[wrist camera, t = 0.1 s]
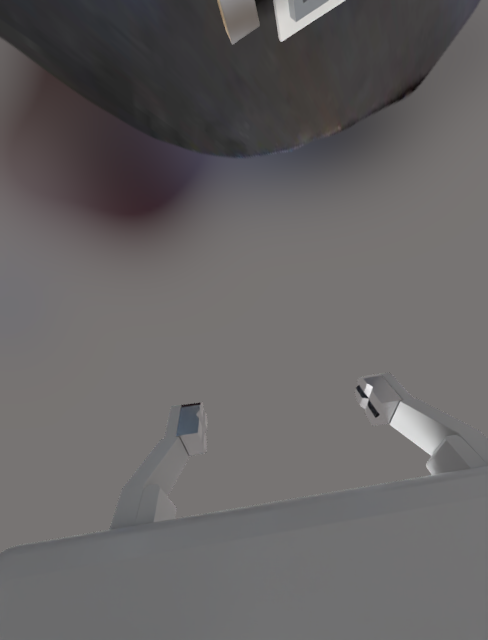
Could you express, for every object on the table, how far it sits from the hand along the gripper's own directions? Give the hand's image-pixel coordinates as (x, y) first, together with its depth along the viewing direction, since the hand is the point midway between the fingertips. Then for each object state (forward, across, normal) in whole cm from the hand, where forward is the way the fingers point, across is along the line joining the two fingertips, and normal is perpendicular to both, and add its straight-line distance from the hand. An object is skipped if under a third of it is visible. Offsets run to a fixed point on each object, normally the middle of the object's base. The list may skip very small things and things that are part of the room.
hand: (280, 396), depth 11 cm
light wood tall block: (+45, -4, -31) cm, 55 cm away
